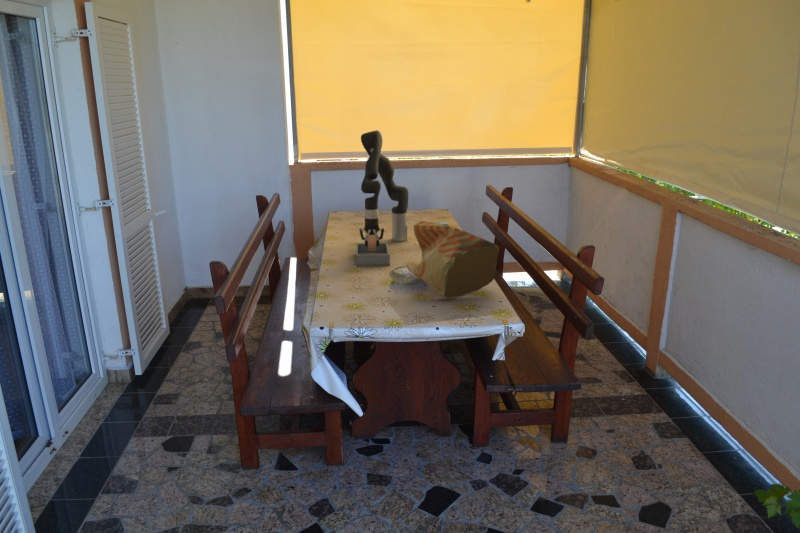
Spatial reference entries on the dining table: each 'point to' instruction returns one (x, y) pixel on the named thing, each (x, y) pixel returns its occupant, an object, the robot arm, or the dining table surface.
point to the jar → (371, 243)
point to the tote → (372, 255)
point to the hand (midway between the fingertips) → (371, 246)
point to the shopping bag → (453, 259)
